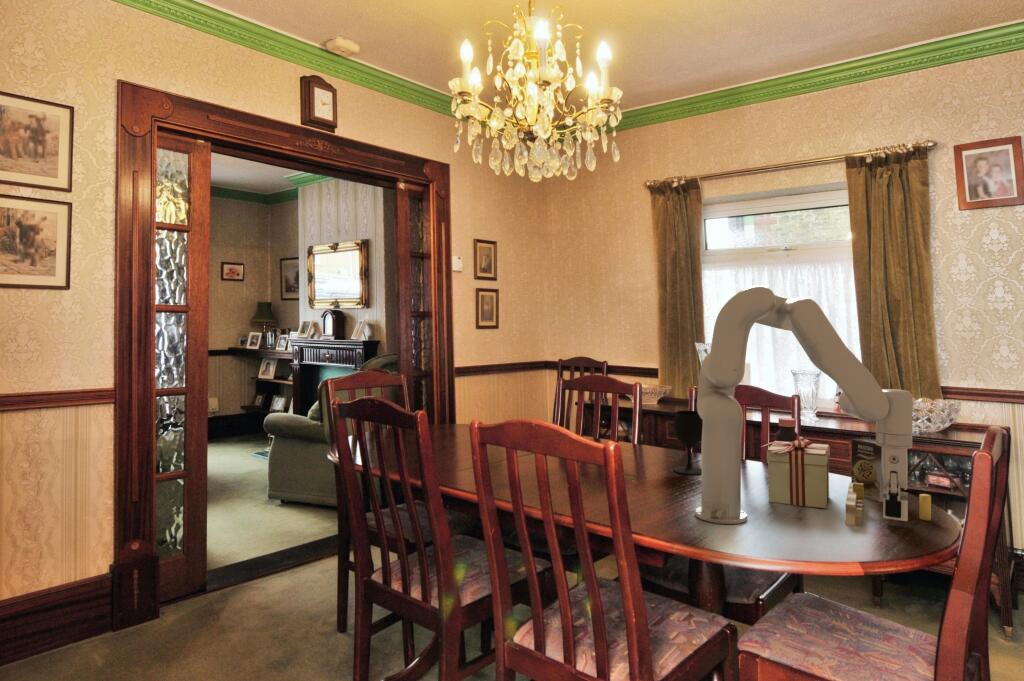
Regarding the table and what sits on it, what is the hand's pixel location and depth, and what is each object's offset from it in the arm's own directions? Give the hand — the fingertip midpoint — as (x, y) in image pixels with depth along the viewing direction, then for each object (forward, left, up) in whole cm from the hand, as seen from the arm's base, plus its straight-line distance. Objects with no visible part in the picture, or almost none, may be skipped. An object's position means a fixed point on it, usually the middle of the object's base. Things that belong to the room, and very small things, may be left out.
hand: (892, 513), depth 147 cm
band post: (+10, -7, -3) cm, 12 cm away
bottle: (+31, +27, -3) cm, 41 cm away
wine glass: (+30, +57, -3) cm, 65 cm away
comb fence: (+7, +9, -3) cm, 11 cm away
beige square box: (0, -1, -1) cm, 1 cm away
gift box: (+12, +23, -3) cm, 26 cm away
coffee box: (+26, +4, -3) cm, 26 cm away
